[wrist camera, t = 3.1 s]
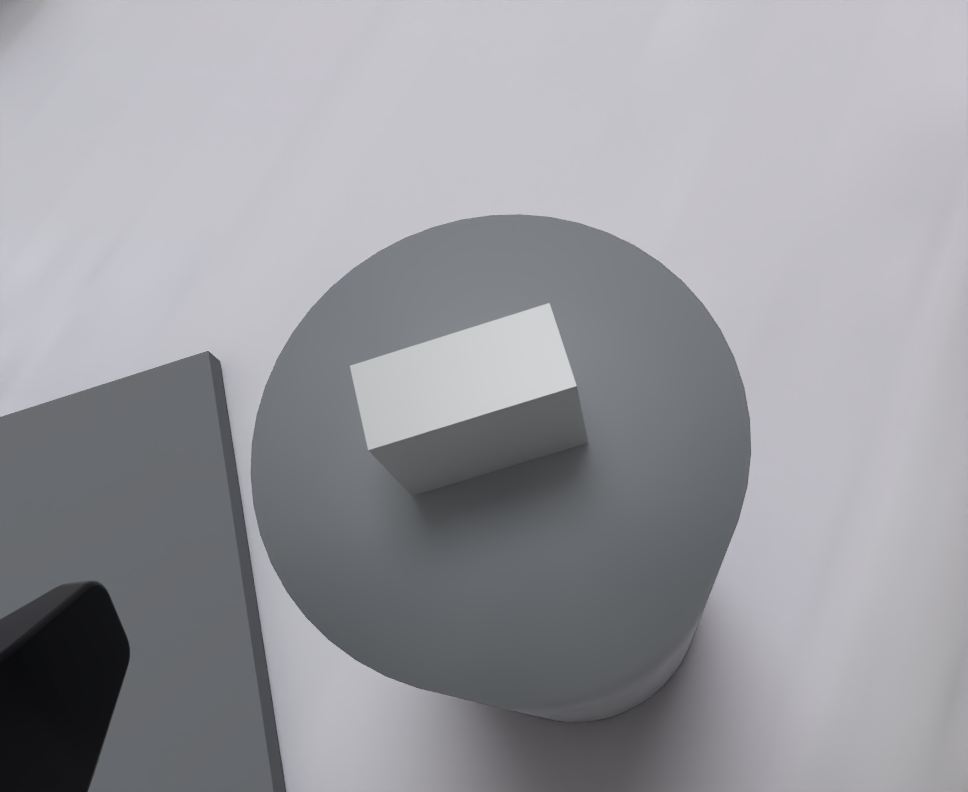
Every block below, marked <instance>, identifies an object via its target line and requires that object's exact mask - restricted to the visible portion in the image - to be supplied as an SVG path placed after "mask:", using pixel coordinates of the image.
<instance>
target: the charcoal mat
mask: <svg viewBox="0 0 968 792" xmlns="http://www.w3.org/2000/svg"><path fill="white" fill-rule="evenodd" d="M82 581H98V582H100V583H102V584H103V585H104V586H105V587H106V589H107V590H108V592H109V594H110V597H111V599H112V602H113V604H114V606H115V609H116V611H117V613H118V616H119V618H120V621H121V623H122V625H123V628H124V630H125V633H126V635H127V637H128V641H129V645H130V660H129V665H128V669H127V672H126V675H125V678H124V681H123V684H122V688H121V691H120V694H119V697H118V700H117V703H116V707H115V710H114V713H113V716H112V719H111V722H110V726H109V729H108V732H107V735H106V738H105V741H104V745H103V748H102V751H101V754H100V757H99V760H98V764H97V767H96V770H95V773H94V776H93V778H92V781H91V784H90V787H89V790H88V792H286V791H285V784H284V778H283V771H282V765H281V758H280V752H279V745H278V739H277V732H276V725H275V719H274V712H273V706H272V699H271V693H270V686H269V680H268V673H267V667H266V660H265V654H264V647H263V641H262V634H261V628H260V621H259V614H258V608H257V601H256V595H255V588H254V582H253V575H252V569H251V562H250V556H249V549H248V543H247V536H246V530H245V523H244V517H243V510H242V503H241V497H240V490H239V484H238V477H237V471H236V464H235V458H234V451H233V445H232V438H231V432H230V425H229V419H228V412H227V406H226V399H225V392H224V386H223V379H222V373H221V366H220V361H219V360H218V359H217V358H216V357H215V356H213V355H212V354H211V353H210V352H209V351H206V352H203V353H200V354H197V355H194V356H191V357H188V358H184V359H181V360H178V361H175V362H172V363H169V364H166V365H162V366H159V367H156V368H153V369H150V370H147V371H144V372H141V373H137V374H134V375H131V376H128V377H125V378H122V379H119V380H115V381H112V382H109V383H106V384H103V385H100V386H97V387H93V388H90V389H87V390H84V391H81V392H78V393H75V394H71V395H68V396H65V397H62V398H59V399H56V400H53V401H50V402H46V403H43V404H40V405H37V406H34V407H31V408H28V409H24V410H21V411H18V412H15V413H12V414H9V415H6V416H2V417H0V619H1V618H3V617H5V616H7V615H8V614H10V613H12V612H14V611H15V610H17V609H19V608H20V607H22V606H24V605H26V604H27V603H29V602H31V601H33V600H34V599H36V598H38V597H40V596H41V595H43V594H45V593H46V592H48V591H50V590H52V589H53V588H55V587H57V586H59V585H62V584H65V583H74V582H82Z"/></svg>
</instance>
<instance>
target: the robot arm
mask: <svg viewBox="0 0 968 792" xmlns="http://www.w3.org/2000/svg"><path fill="white" fill-rule="evenodd" d="M129 660H130V645H129V641H128V637H127V635H126V633H125V630H124V628H123V625H122V623H121V621H120V618H119V616H118V613H117V611H116V609H115V606H114V604H113V602H112V599H111V597H110V594H109V592H108V590H107V589H106V587H105V586H104V585H103V584H102V583H100V582H98V581H82V582H74V583H65V584H62V585H59V586H57V587H55V588H53V589H52V590H50V591H48V592H46V593H45V594H43V595H41V596H40V597H38V598H36V599H34V600H33V601H31V602H29V603H27V604H26V605H24V606H22V607H20V608H19V609H17V610H15V611H14V612H12V613H10V614H8V615H7V616H5V617H3V618H1V619H0V792H88V790H89V787H90V784H91V781H92V778H93V776H94V773H95V770H96V767H97V764H98V760H99V757H100V754H101V751H102V748H103V745H104V741H105V738H106V735H107V732H108V729H109V726H110V722H111V719H112V716H113V713H114V710H115V707H116V703H117V700H118V697H119V694H120V691H121V688H122V684H123V681H124V678H125V675H126V672H127V669H128V665H129Z"/></svg>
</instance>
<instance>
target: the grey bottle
mask: <svg viewBox="0 0 968 792" xmlns="http://www.w3.org/2000/svg"><path fill="white" fill-rule="evenodd" d="M750 457H751V438H750V418H749V412H748V406H747V401H746V395H745V389H744V386H743V383H742V380H741V376H740V373H739V370H738V367H737V364H736V361H735V358H734V356H733V354H732V352H731V350H730V348H729V346H728V344H727V342H726V340H725V338H724V336H723V334H722V332H721V330H720V328H719V327H718V325H717V324H716V322H715V321H714V319H713V318H712V316H711V315H710V313H709V312H708V310H707V309H706V308H705V306H704V305H703V303H702V302H701V301H700V300H699V299H698V298H697V297H696V296H695V294H694V293H693V292H692V291H691V290H690V289H689V288H688V287H687V286H686V284H685V283H684V282H683V281H682V280H681V279H679V278H678V277H677V276H676V275H675V274H673V273H672V272H671V271H670V270H669V269H668V268H666V267H665V266H664V265H663V264H662V263H661V262H659V261H658V260H656V259H655V258H653V257H652V256H650V255H648V254H647V253H645V252H644V251H642V250H641V249H639V248H638V247H636V246H634V245H632V244H630V243H628V242H626V241H624V240H622V239H620V238H618V237H616V236H614V235H612V234H609V233H607V232H604V231H601V230H598V229H595V228H592V227H589V226H586V225H583V224H580V223H576V222H572V221H567V220H562V219H557V218H552V217H543V216H531V215H491V216H484V217H477V218H470V219H463V220H459V221H455V222H451V223H447V224H443V225H440V226H436V227H432V228H430V229H427V230H424V231H422V232H419V233H417V234H414V235H411V236H409V237H406V238H404V239H402V240H400V241H398V242H396V243H394V244H392V245H390V246H389V247H387V248H385V249H383V250H381V251H379V252H377V253H376V254H374V255H373V256H371V257H370V258H368V259H367V260H365V261H364V262H362V263H361V264H359V265H358V266H356V267H355V268H353V269H352V270H351V271H350V272H349V273H347V274H346V275H345V276H344V277H343V278H342V279H340V280H339V281H338V282H337V283H336V284H334V285H333V286H332V287H331V288H330V289H329V290H328V291H327V292H326V293H325V294H324V295H323V296H322V297H321V298H320V299H319V301H318V302H317V303H316V304H315V305H314V306H313V307H312V308H311V309H310V310H309V312H308V313H307V314H306V316H305V317H304V318H303V320H302V321H301V322H300V324H299V325H298V326H297V328H296V329H295V330H294V332H293V333H292V335H291V336H290V338H289V340H288V341H287V343H286V345H285V347H284V348H283V350H282V352H281V353H280V355H279V357H278V359H277V361H276V363H275V365H274V368H273V370H272V372H271V374H270V377H269V379H268V381H267V384H266V386H265V389H264V393H263V396H262V399H261V403H260V406H259V409H258V413H257V417H256V423H255V429H254V435H253V441H252V455H251V483H252V494H253V505H254V509H255V513H256V518H257V522H258V527H259V531H260V535H261V538H262V540H263V543H264V546H265V548H266V551H267V553H268V556H269V559H270V561H271V564H272V566H273V568H274V569H275V571H276V573H277V575H278V577H279V579H280V580H281V582H282V584H283V586H284V588H285V589H286V591H287V593H288V594H289V595H290V597H291V598H292V599H293V601H294V602H295V603H296V605H297V606H298V607H299V609H300V610H301V611H302V613H303V614H304V615H305V617H306V618H307V619H308V620H309V621H310V622H311V623H312V624H313V625H314V626H315V627H316V628H317V629H318V630H319V631H320V632H321V633H322V634H323V635H324V636H325V637H326V638H327V639H328V640H330V641H331V642H332V643H334V644H335V645H336V646H338V647H339V648H340V649H342V650H343V651H344V652H346V653H347V654H348V655H350V656H351V657H352V658H354V659H355V660H357V661H359V662H360V663H362V664H364V665H366V666H368V667H370V668H371V669H373V670H375V671H377V672H379V673H381V674H383V675H384V676H387V677H389V678H392V679H395V680H397V681H400V682H403V683H406V684H408V685H411V686H414V687H416V688H420V689H424V690H428V691H432V692H437V693H441V694H445V695H449V696H453V697H458V698H462V699H466V700H470V701H474V702H479V703H483V704H487V705H491V706H495V707H499V708H504V709H508V710H512V711H516V712H520V713H525V714H529V715H533V716H537V717H541V718H546V719H551V720H555V721H563V722H589V721H596V720H601V719H606V718H610V717H613V716H616V715H618V714H621V713H624V712H626V711H628V710H630V709H632V708H634V707H636V706H638V705H640V704H641V703H643V702H644V701H645V700H647V699H648V698H650V697H651V696H652V695H654V694H655V693H656V692H657V691H658V690H659V689H660V688H661V687H662V686H663V685H664V684H665V683H666V682H667V681H668V680H669V679H670V677H671V676H672V675H673V674H674V672H675V671H676V670H677V669H678V667H679V665H680V663H681V662H682V660H683V658H684V657H685V655H686V653H687V651H688V648H689V646H690V643H691V641H692V638H693V636H694V633H695V631H696V628H697V626H698V623H699V620H700V618H701V615H702V613H703V610H704V608H705V605H706V602H707V600H708V597H709V595H710V592H711V590H712V587H713V584H714V582H715V579H716V577H717V574H718V572H719V569H720V566H721V564H722V561H723V559H724V556H725V554H726V551H727V548H728V546H729V543H730V541H731V538H732V536H733V533H734V530H735V528H736V525H737V523H738V520H739V517H740V513H741V509H742V505H743V501H744V497H745V493H746V489H747V484H748V475H749V466H750Z"/></svg>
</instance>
